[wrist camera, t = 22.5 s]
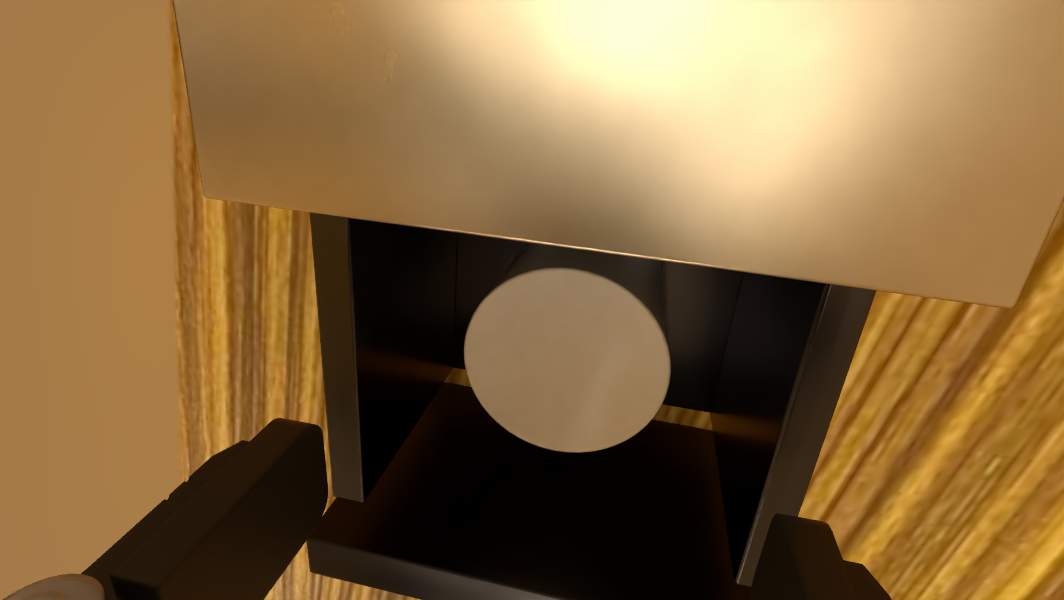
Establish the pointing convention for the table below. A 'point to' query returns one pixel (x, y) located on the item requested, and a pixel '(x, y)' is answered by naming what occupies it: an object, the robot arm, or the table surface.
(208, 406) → the table surface
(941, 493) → the table surface
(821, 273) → the drawer cabinet box
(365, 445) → the dark brown drawer
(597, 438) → the cream short cylinder
